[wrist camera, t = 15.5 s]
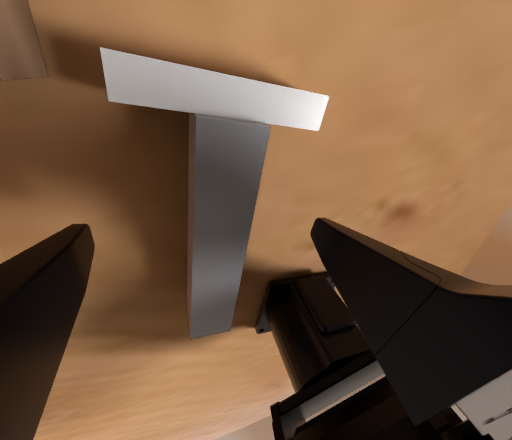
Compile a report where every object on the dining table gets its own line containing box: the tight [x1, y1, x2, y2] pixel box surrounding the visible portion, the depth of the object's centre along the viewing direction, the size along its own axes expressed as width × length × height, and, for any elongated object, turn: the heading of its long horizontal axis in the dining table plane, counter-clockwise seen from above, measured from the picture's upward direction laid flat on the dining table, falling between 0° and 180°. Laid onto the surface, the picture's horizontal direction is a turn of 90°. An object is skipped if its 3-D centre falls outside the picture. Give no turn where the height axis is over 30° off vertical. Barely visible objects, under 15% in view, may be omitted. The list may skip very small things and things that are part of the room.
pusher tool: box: [100, 47, 329, 340], centre depth 11 cm, size 13×7×3 cm, turn 169°
